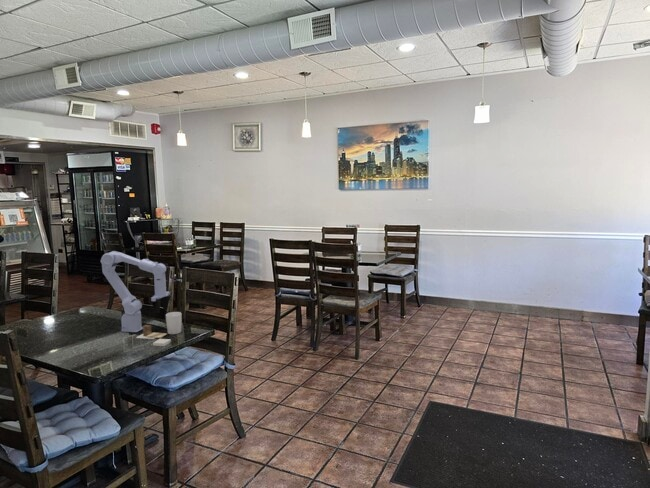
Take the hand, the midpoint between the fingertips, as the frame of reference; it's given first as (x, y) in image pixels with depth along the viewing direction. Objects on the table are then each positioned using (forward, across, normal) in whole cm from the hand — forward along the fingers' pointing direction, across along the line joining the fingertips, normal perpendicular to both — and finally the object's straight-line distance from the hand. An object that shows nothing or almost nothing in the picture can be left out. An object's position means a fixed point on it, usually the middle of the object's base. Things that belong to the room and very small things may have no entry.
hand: (161, 311), depth 230 cm
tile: (+9, -21, -10) cm, 25 cm away
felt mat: (+10, -12, 0) cm, 16 cm away
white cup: (+10, -4, -10) cm, 14 cm away
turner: (+9, -12, -3) cm, 16 cm away
